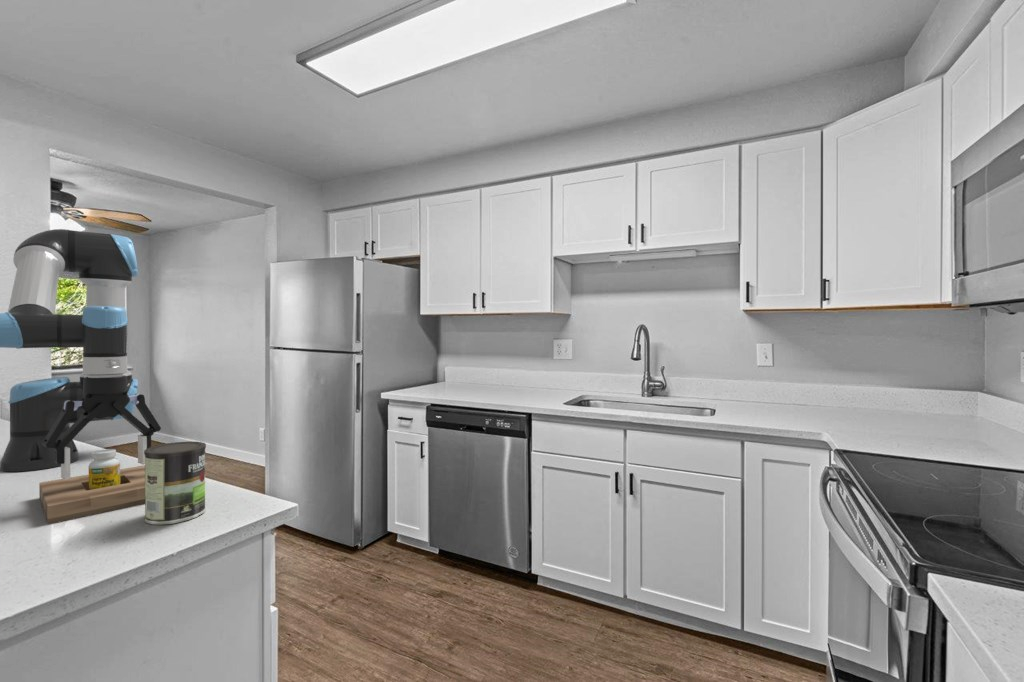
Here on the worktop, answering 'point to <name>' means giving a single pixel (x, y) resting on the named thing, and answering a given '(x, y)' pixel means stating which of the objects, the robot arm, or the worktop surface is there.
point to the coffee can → (174, 482)
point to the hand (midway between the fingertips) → (106, 470)
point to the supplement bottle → (104, 469)
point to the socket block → (91, 495)
